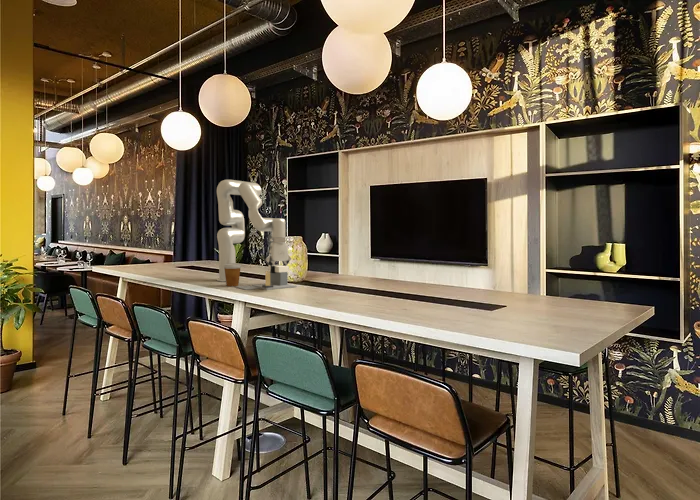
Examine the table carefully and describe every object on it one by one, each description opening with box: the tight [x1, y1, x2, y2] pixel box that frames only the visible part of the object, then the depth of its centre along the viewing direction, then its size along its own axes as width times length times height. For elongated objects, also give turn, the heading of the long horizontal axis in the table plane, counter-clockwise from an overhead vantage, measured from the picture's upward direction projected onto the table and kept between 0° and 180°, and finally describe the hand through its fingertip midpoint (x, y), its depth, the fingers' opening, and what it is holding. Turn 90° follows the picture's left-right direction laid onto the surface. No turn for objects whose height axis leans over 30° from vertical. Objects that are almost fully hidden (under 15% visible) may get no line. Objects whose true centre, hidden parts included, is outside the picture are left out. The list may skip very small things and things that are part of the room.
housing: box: [251, 271, 297, 291], centre depth 253 cm, size 18×18×8 cm
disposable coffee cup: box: [224, 263, 242, 287], centre depth 255 cm, size 10×10×12 cm
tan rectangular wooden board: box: [264, 270, 270, 286], centre depth 242 cm, size 2×14×7 cm, turn 11°
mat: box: [234, 284, 261, 291], centre depth 248 cm, size 13×8×1 cm, turn 38°
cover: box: [267, 264, 290, 273], centre depth 258 cm, size 12×6×3 cm, turn 38°
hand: (278, 272), depth 258 cm, fingers closed on cover, 6 cm apart
